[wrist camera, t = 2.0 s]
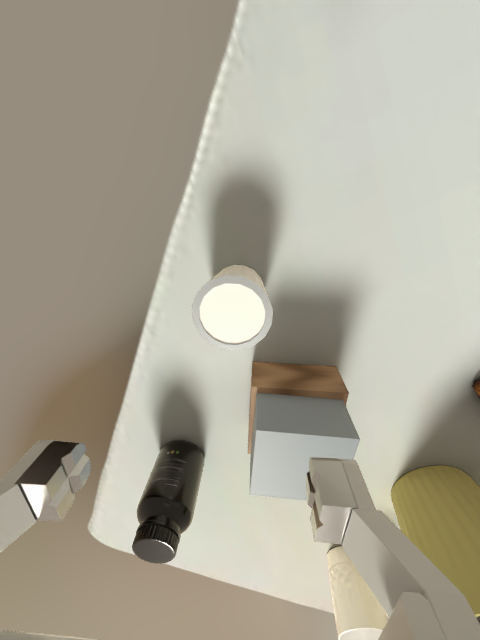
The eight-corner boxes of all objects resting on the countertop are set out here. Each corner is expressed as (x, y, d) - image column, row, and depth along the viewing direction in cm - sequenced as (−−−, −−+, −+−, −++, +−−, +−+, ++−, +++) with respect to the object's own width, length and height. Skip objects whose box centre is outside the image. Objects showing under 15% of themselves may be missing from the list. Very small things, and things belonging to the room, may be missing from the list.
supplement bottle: (209, 469, 40) (191, 569, 29) (167, 471, 41) (133, 569, 30) (199, 436, 37) (175, 533, 26) (154, 439, 38) (112, 534, 27)
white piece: (200, 263, 27) (182, 282, 21) (265, 253, 26) (267, 269, 20) (213, 323, 30) (201, 355, 23) (273, 315, 29) (277, 346, 23)
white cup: (331, 539, 45) (350, 623, 36) (375, 547, 45) (405, 634, 36) (317, 562, 48) (330, 645, 39) (357, 570, 49) (381, 655, 39)
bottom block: (335, 365, 31) (348, 392, 27) (322, 427, 35) (331, 460, 31) (252, 360, 32) (251, 386, 27) (248, 422, 36) (247, 453, 31)
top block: (342, 399, 27) (360, 439, 23) (326, 459, 31) (338, 503, 26) (256, 392, 27) (256, 430, 23) (250, 452, 31) (249, 495, 27)
